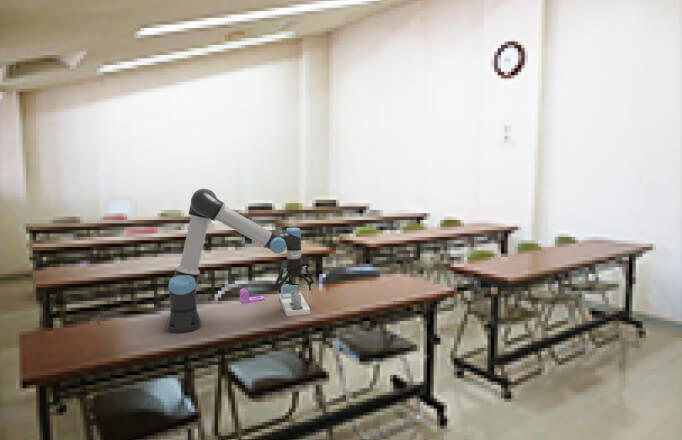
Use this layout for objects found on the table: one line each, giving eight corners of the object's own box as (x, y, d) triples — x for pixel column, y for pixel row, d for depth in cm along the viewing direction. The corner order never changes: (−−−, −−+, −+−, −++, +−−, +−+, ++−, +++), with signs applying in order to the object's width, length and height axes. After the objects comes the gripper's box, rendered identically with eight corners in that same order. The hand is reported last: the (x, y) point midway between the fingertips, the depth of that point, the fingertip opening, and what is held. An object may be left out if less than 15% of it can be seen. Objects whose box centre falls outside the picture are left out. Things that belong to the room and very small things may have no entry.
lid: (283, 298, 254) (283, 289, 253) (282, 294, 261) (281, 286, 260) (300, 297, 256) (300, 288, 256) (298, 293, 263) (298, 285, 262)
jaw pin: (290, 307, 247) (290, 290, 246) (298, 307, 248) (298, 290, 247) (291, 309, 243) (291, 292, 242) (299, 309, 244) (299, 292, 243)
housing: (286, 316, 233) (286, 298, 232) (279, 299, 262) (278, 283, 261) (310, 314, 236) (309, 296, 235) (300, 297, 265) (300, 281, 264)
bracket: (242, 304, 254) (242, 291, 254) (240, 301, 259) (239, 289, 258) (265, 300, 260) (265, 288, 259) (262, 298, 265) (262, 286, 264)
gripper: (270, 260, 235) (271, 301, 238) (319, 257, 241) (319, 297, 244) (268, 257, 243) (270, 297, 245) (316, 255, 249) (317, 294, 251)
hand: (294, 297), depth 245 cm, fingers open, 13 cm apart
